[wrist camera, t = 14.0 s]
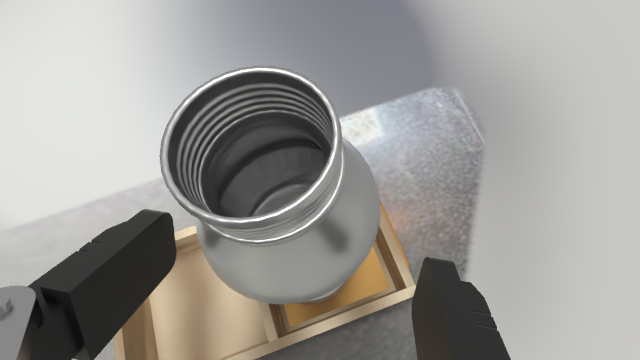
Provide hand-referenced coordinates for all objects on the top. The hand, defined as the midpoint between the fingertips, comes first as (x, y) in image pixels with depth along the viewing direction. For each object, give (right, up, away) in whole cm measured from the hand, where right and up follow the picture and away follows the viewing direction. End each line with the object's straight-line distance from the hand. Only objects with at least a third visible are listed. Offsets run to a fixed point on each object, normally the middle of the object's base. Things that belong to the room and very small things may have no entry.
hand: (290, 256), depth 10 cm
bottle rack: (-3, -6, +16) cm, 17 cm away
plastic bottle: (0, -4, +15) cm, 16 cm away
